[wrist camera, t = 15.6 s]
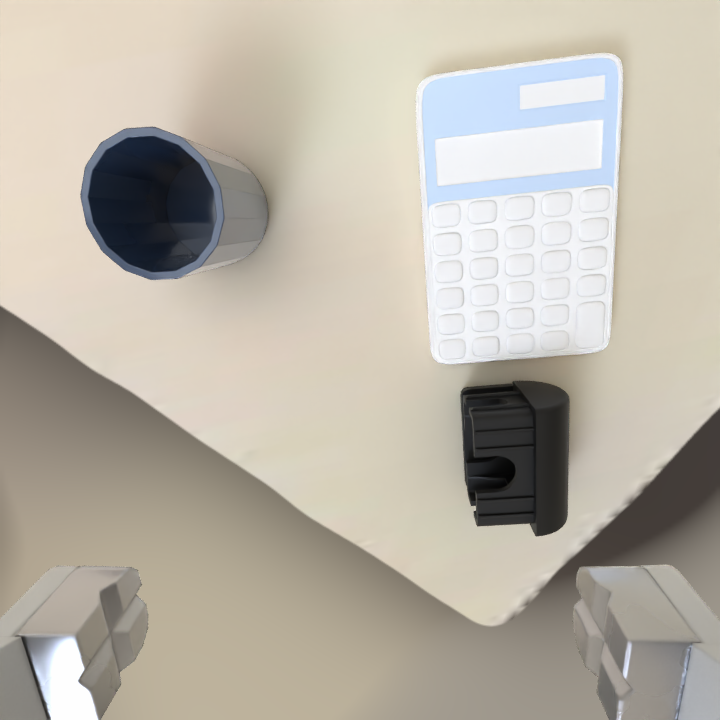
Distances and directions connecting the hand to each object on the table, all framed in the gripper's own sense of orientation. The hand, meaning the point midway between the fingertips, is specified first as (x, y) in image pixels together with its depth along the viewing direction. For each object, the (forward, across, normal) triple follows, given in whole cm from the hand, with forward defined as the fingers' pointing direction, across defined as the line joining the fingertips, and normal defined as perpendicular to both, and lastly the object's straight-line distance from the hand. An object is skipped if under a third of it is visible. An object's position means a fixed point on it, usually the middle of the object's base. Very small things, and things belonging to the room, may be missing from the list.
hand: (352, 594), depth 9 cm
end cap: (+29, -10, +11) cm, 33 cm away
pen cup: (+29, +12, -8) cm, 32 cm away
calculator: (+29, -10, -6) cm, 32 cm away
